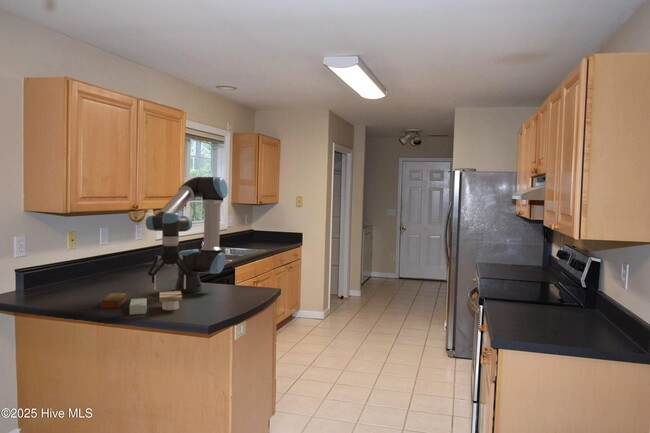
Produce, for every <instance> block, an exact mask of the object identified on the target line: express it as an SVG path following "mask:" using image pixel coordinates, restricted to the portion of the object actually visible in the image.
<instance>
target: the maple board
mask: <svg viewBox="0 0 650 433" xmlns="http://www.w3.org/2000/svg"><path fill="white" fill-rule="evenodd" d="M171 301H179V302H182V301H183V294H182V292H181V291H175V290H174V291H171V290H170V291H169V290H167V291H160V292H159V303H162V302H171Z"/></svg>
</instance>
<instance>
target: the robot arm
mask: <svg viewBox="0 0 650 433" xmlns="http://www.w3.org/2000/svg"><path fill="white" fill-rule="evenodd" d="M228 190H229V188H228V185H227V182H226V180H225V179H224V178H223V177H220V176H196V177H192V178H190V179H189V180H187V181H185V182H184V183H183V184H182V185H180V187H178V190H177V192H176V193H175V194H174V195H173V196H172V197H171V198H170V199H169V200H168V201H167V203H166V204H165V205H163V207H162V208H161V209H160V210H159V211H158V212H157V213H156V214H155V215H153V214H152V215H148V216H147V217H146V218H145V227H146V229H147V230H149V231H154V232H162V234H161V236H162V238H161V240H162V241H161V242H162V246H161V255H158V254H156V255H155V256H154V261H153V263H152V264H151V266H150V268H149V270H148V271H147V276H151V283H152V284H153V287H154V288H153V289H154V291H157V275H156V274H157V273H158V272H159V271H160V270H161V269H162V268H163V267H164V265H167V266H168V265H173V266H174V265H177V279H176V282H175V285H174V291H181V294H182V293H184V294H185V293H189V294H190V293H196V292H197V293H198V292H200V291H203V284H202V282H201V279H200V273H201V274H220V273H221V272H222V271H223V270H224V268H225V266H226V254H225V253H224V252H222V248H221V247H220V233H221V232H220V231H221V230H220V228H221V226H220V225H221V204H222V203H223V202H224V199H225V198H227V196H228V193H229V191H228ZM195 198H201V200H202V202H203V203H204V218H203V220H204V222H203V223H204V224H203V246H202V247H201V248H200V249H199V248H195V249H194V248H193V249H187V250H186V249H185V250H181V251H179V250H180V249H179V248H180V246H179V243H180V242H179V240H180V238H179V233H181V232H188V231H190V230H191V229H192V226H193V220H192V218H190V217H188V216H185V215H181V216H180V215H179V213H180V211H181V210H182V209H183V208H184V207H185V205H187V204H188V202H191V201H193V200H194V199H195ZM160 259H161V261H162V262H161V263H160V264H159V265H158V267H157V268H156V269H155V270H154V268H155V266H156V265H157V263H158V261H159V260H160Z"/></svg>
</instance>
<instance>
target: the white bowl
mask: <svg viewBox="0 0 650 433" xmlns="http://www.w3.org/2000/svg"><path fill="white" fill-rule="evenodd" d="M161 303H162V305H161V306H162V311H163V310H164V311H176V310H178V309H179V308H180V301H171V302H161Z"/></svg>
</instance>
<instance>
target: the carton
mask: <svg viewBox="0 0 650 433" xmlns="http://www.w3.org/2000/svg"><path fill="white" fill-rule="evenodd" d="M126 301H127V293H126V292H125V293H124V292H123V293H122V292H121V293H120V292H119V293H118V292H117V293H115V292H114V293H109V294H107V295H106V296H105V297H104V298H102V300H101V302H100V305H101V306H100V308H101V309H117V308H120V307H121V306H122V305H123V304H124V303H125V302H126Z"/></svg>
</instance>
